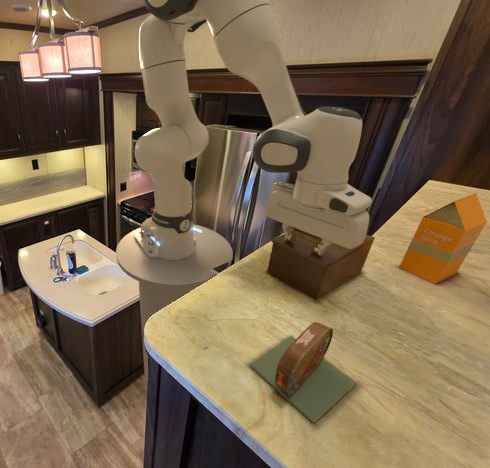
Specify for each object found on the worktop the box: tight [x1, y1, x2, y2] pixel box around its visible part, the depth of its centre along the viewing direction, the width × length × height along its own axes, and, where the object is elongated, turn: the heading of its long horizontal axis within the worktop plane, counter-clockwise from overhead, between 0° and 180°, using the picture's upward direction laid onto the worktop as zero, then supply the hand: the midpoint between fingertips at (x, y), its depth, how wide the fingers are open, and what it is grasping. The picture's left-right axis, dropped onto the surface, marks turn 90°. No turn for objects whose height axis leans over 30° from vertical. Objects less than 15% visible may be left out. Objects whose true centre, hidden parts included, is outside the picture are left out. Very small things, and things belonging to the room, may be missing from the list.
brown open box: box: [266, 239, 375, 301], centre depth 73 cm, size 19×13×10 cm
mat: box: [249, 336, 358, 425], centre depth 51 cm, size 12×12×1 cm
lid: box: [271, 227, 376, 267], centre depth 70 cm, size 20×13×5 cm, turn 119°
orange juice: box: [398, 193, 488, 284], centre depth 68 cm, size 8×9×20 cm
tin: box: [275, 321, 334, 395], centre depth 49 cm, size 15×3×8 cm, turn 126°
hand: (303, 247), depth 67 cm, fingers closed on lid, 6 cm apart
